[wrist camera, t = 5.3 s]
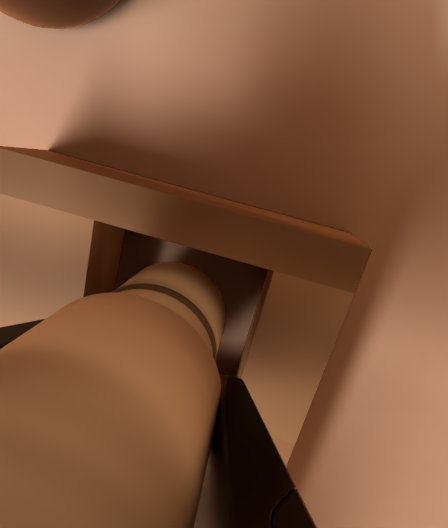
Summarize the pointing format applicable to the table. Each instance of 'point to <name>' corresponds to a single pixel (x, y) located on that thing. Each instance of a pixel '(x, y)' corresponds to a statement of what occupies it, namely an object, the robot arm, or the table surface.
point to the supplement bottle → (56, 11)
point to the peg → (113, 406)
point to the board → (188, 234)
